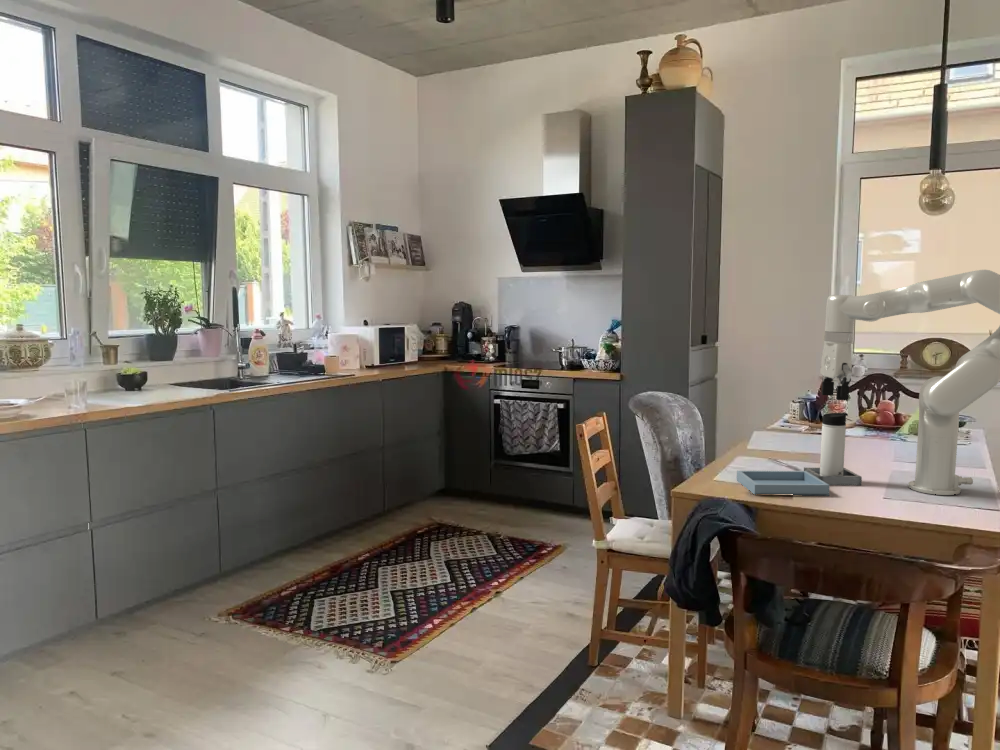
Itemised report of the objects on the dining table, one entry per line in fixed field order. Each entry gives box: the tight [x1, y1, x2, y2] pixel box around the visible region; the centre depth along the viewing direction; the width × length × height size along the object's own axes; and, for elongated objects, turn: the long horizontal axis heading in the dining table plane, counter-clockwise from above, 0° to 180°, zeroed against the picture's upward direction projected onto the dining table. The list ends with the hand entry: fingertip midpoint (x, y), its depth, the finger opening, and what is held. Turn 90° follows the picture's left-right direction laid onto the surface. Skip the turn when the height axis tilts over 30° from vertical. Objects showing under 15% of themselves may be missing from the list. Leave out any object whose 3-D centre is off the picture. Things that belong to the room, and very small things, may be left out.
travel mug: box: [819, 412, 849, 476], centre depth 216 cm, size 6×7×20 cm
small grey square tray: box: [803, 467, 863, 486], centre depth 217 cm, size 12×11×2 cm
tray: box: [736, 470, 831, 497], centre depth 208 cm, size 20×16×3 cm
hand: (834, 397), depth 215 cm, fingers open, 9 cm apart
